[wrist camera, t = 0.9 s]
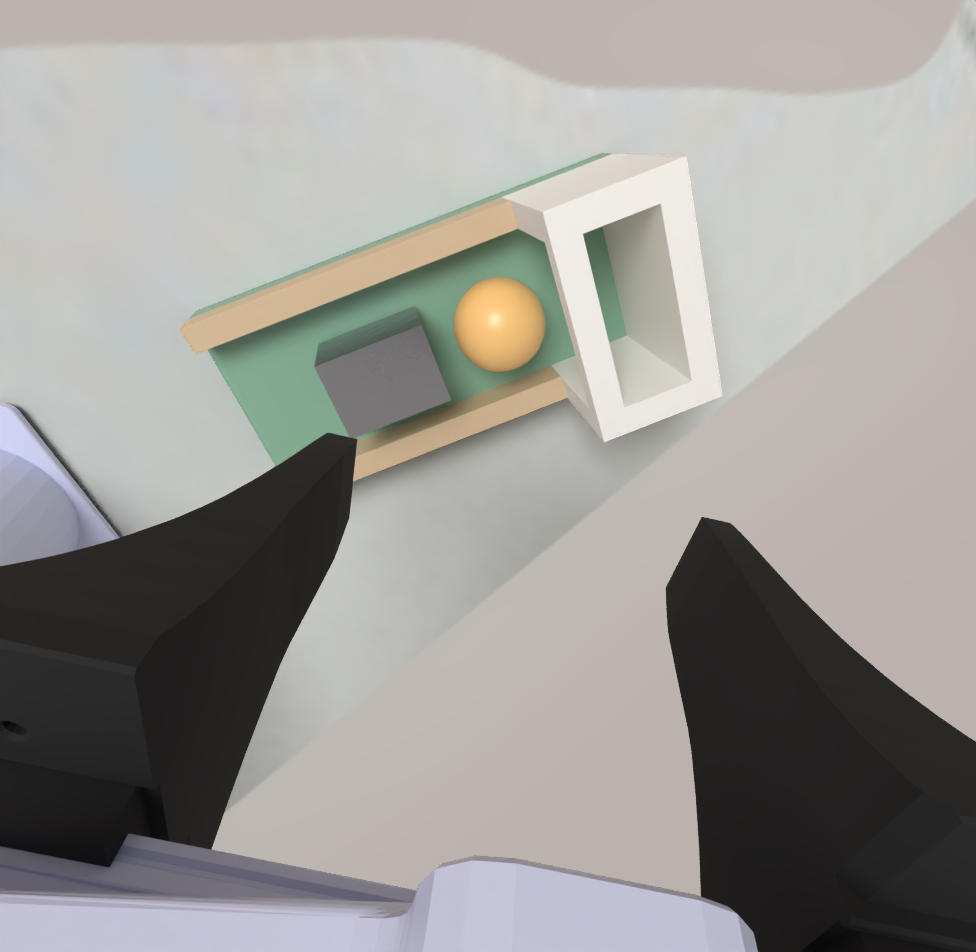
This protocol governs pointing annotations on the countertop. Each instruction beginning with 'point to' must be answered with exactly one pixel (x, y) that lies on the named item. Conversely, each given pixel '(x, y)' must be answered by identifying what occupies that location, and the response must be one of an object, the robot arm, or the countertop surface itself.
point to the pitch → (467, 261)
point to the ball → (499, 324)
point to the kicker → (381, 373)
